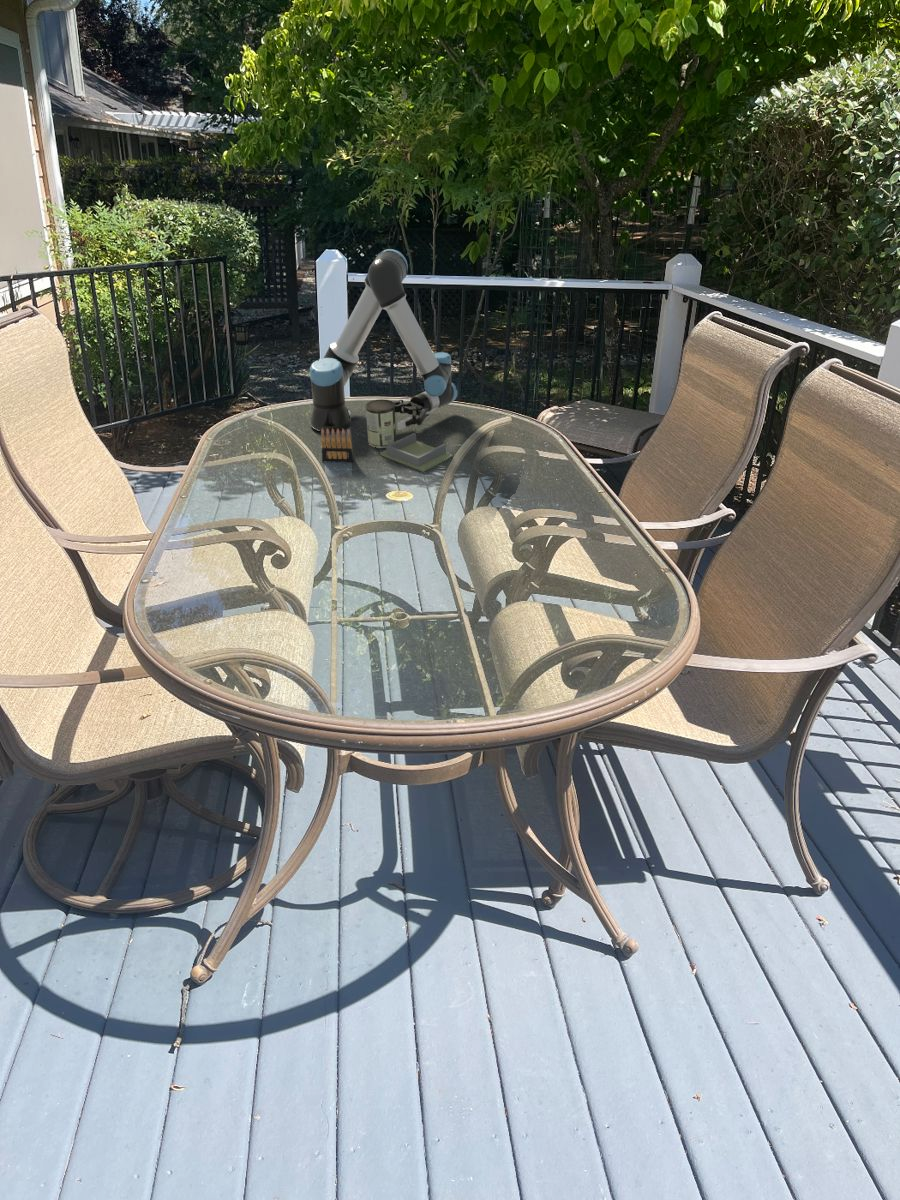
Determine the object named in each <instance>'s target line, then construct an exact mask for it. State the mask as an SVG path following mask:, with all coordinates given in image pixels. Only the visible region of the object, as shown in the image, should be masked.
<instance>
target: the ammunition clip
mask: <svg viewBox="0 0 900 1200" xmlns="http://www.w3.org/2000/svg"><path fill="white" fill-rule="evenodd" d="M350 430H351V429H350V428H348V429H346V430H344V429H342V431H341V432H340V431H339V429H337V432H336V433H335V432H334V429H333V428H332V432H331V433H330V432H329V429H328V428H327V431H326V433H324V430H323V428H322V430H321V432H320V435H321V436H320V437H321V439H320V440H321V441H320V442H321V460H322V462H323V461H326V462H325V463H354V461H355V458H354V456H355V455H354V451H353V440H352V435H351V431H350ZM345 431H347V432H345Z"/></svg>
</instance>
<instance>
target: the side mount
mask: <svg viewBox="0 0 900 1200" xmlns="http://www.w3.org/2000/svg"><path fill="white" fill-rule="evenodd" d="M446 452H447V444H446V443H442V444H440V445H438V446H436V447H434V446H431V445H429V444H426V443H424V442H420V441H418V440H417V433H415V432H413V433H411V434H409V435H406V436H405V437H402V438H400V439H398V440H397V441H396V442H394V443H392V444H389V445H387V446H386V448H385V450H383V451H381V452H379V453H380V454H379V455H380V456H382V457H384V458H386V459H389V460H391V461H394V462H397V463H399V464H402V465H404V466H407V467H410V468H412V469H415V470H417V471H420V472H423V473H424V472H426V471H428V470H430V469H431V468H434V467H435V466H437V465H439V463H440V464H441V463H443V462H444V461H443V460H444V459H446V458H447V457H448V456H449V455H447V453H446ZM442 461H443V462H442Z"/></svg>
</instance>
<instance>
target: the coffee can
mask: <svg viewBox="0 0 900 1200" xmlns="http://www.w3.org/2000/svg"><path fill="white" fill-rule="evenodd" d="M394 402H395V401H393V400H390V399H381V398H380V399H372V400H369V401H368V402H366V404H365V406H364V407H365V414H366V425H367V426H366V429H367V444H368V443H369V444H368V445H369V446H370V445H371V446H370V447H373V448H375V447H376V448H377V449H386V446H387V445H389V444H392V443H394V442H396V441H398V440H397V430H396V429H397V426H396V425H397V424H396V413H395V403H394Z"/></svg>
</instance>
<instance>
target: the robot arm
mask: <svg viewBox="0 0 900 1200" xmlns="http://www.w3.org/2000/svg"><path fill="white" fill-rule="evenodd" d="M408 265H409V264H408V261H407V259H406V257H405V256H404V254H402V252H400V251H399V250H397V249H392V248H389V249H388V248H387V249H384V250H382V251H380V252H379V253H378V254H377V255H376V257H375V259H373V261H372V262H371V264H370V265H369V267H368V272H367V274H366V277H365V278H364V284H365V288H364V289H363V291H362V293H361V295H360V297H359V299H358V301H357V303H356V304H355V307H354V309H353V310H352V312H351V314H350V316H349V318H348V320H347V322H346V324H345V326H344V327H343V329H342V332H341V334H340V335H339V337H338V339H337V340H336V341H334V342H331V343H330V344H329V347H328V349H327V351H326V353H325V355H324V356H323V357H322V358H319V359H318V360H315V361H313V362H312V364H311V365H310V367H309V378H310V386H311V387H310V388H311V394H312V395H311V396H312V406H313V407H312V411H311V416H310V420H309V424H310V423H311V425H312V426H313V427H314V428H316V429H318V430H320V431H321V430H322V428H323V430H324V432H326V431H327V428H328V429H329V432H332V428H333V429H334V432H335V434H337V429H339V431H340V433H342V429H344V431H347V430H348V429H350V428H351V427H352V417H351V415H350V412H349V410H348V407H347V405H346V397H345V386H346V384H347V382H348V381H349V379H350V378H351V376H352V375H353V374H354V370H355V369H356V367H357V364H358V363H359V361H360V357H359V355H358V353H359V352H360V350H361V348H362V347H363V345H364V343H365V342H366V339H367V337H368V336H369V334H370V332H371V330H372V328H373V327H374V325H375V323H376V322H377V321H376V320H377V319H378V318H379V316H380V314H381V312H382V310H385V311H386V313H387V315H388V317H389V318H390V320H391V322H392V324H393V325H394V327H395V330H396V331H397V333H398V336H399V337H400V339H401V341H402V343H403V344H404V346H405V348H406V351H407V352H408V354H409V356H410V358H411V360H412V361H413V363H414V365H415V367H416V369H417V370H418V373H419V374H420V376H421V379H422V381H423V382H424V383H423V386H424V387H423V389H424V390H425V391H423V392H421V393H419V394H416V395H414V396H412V397H411V399H410V400H409V401H407V402H404V399H399V400H395V401H393V402H394V403H395V414H396V413H400V414H408V415H411V416H409V417H406V418H404V419H402V420H400V421H398V422H396V423H397V424H396V425H397V426H396V429H397V431H400V430H403V429H405V428H407V427H409V426H412V425H414V426H415V425H417V426H421V425H422V424H423V422H424V421H425V419H426V418H427V417H428V416H429V415H430V413H431V412H433V411H435V410H438V409H440V408H442V407H445V405H446V406H448V405H449V404H451V403H452V402H454V401H455V400H456V399H457V397H458V390H457V386H456V385H455V383H453V382H452V357H451V355H450V354H449V353H447V352H441V351H440V352H439V351H438V352H433V350H432V348H431V346H430V344H429V342H428V340H427V338H426V336H425V334H424V332H423V330H422V328H421V326H420V325H419V323H418V321H417V319H416V316H415V315H414V313H413V311H412V308H411V307H410V305H409V303H408V301H407V298H406V297H407V293H406V291H405V289H404V286H403V281H404V280H405V278H406V277H407V275H408V270H409V266H408ZM311 425H310V426H311Z"/></svg>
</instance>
